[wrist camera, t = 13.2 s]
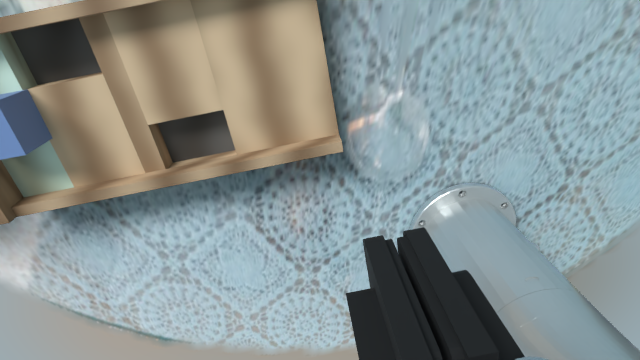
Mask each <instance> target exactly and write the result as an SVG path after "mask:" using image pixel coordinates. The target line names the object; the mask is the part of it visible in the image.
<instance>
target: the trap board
mask: <svg viewBox="0 0 640 360" xmlns="http://www.w3.org/2000/svg"><path fill="white" fill-rule="evenodd" d="M26 89H28V91H29V93H30V95H31V97H32V99H33V101H34V103H35V105H36V107H37V108H38V110H39V112H40V114H41V116H42V118H43V120H44V122H45V124H46V126H47V128H48V130H49V132H50V134H51V136H52V139H51V140H49V141H48V142H46V143H44V144H43V145H41V146H40V147H38V148H36V149H35V150H33V151H32V152H30V153H28V154H27V155H23V156H18V157H13V158H7V159H2V160H0V225H1V224H6V223H10V222H11V221H12V220H13V219H15V218H16V217H19V216H24V215H29V214H34V213H39V212H44V211H49V210H54V209H59V208H64V207H69V206H74V205H79V204H84V203H89V202H94V201H99V200H104V199H109V198H114V197H119V196H124V195H129V194H134V193H139V192H144V191H149V190H154V189H159V188H164V187H169V186H174V185H179V184H184V183H189V182H194V181H199V180H204V179H209V178H214V177H219V176H224V175H229V174H234V173H239V172H244V171H249V170H254V169H259V168H264V167H269V166H274V165H279V164H284V163H289V162H294V161H299V160H304V159H309V158H314V157H319V156H324V155H329V154H334V153H339V152H343V146H342V141H341V138H340V136H339V132H338V126H337V120H336V114H335V108H334V102H333V96H332V90H331V84H330V78H329V72H328V66H327V60H326V54H325V48H324V42H323V36H322V30H321V25H320V19H319V13H318V7H317V1H316V0H83V1H78V2H74V3H69V4H64V5H59V6H54V7H49V8H44V9H39V10H34V11H29V12H25V13H20V14H15V15H10V16H5V17H0V94H5V93H10V92H16V91H21V90H26Z"/></svg>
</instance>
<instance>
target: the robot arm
mask: <svg viewBox="0 0 640 360" xmlns="http://www.w3.org/2000/svg"><path fill="white" fill-rule="evenodd" d="M363 245H364V251H365V257H366V264H367V270H368V276H369V282H370V288H371V289H366V290H361V291H356V292H351V293H346V296H347V301H348V306H349V311H350V316H351V321H352V326H353V331H354V336H355V341H356V346H357V351H358V356H359V360H640V350H639V349H638V348H636V347H635V346H634V345H633V344H632V343H631V342H630V341H629V340H628V339H626V337H624V336H623V335H622V334H621V333H620V332H619V331H618V330H617V329H616V328H615V327H614V326H613V325H612V324H611V323H610V322H609V321H608V320H607V319H606V318H605V317H604V316H603V315H602V314H601V313H600V312H599V311H598V310H597V309H596V308H595V307H594V306H593V305H592V304H591V303H590V302H589V301H588V300H587V299H586V298H585V297H584V296H583V295H582V294H581V293H580V292H579V291H578V290H577V289H576V288H575V287H574V286H573V285H572V284H571V283H570V282H569V281H568V280H567V279H566V277H565V276H564V275H563V274H562V273H561V272H560V271H559V270H558V269H557V268H556V267H555V266H554V265H553V264H552V263H551V262H550V261H549V260H548V259H547V258H546V257H545V256H544V255H543V254H542V253H541V252H540V247H539V245H538V244H535V243H532V242H530V241H529V240H528V239H527V238H526V237H525V236H524V235H523V234H522V233H521V232H520V231H519V230H518V229H517V228H516V214H515V210H514V208H513V206H512V203H511V202H510V201H509V200H508V199H507V197H506V196H505V195H503V194H502V193H501V192H500V191H499V190H497V189H495V188H493V187H492V186H488V185H485V184H481V183H463V184H458V185H454V186H451V187H448V188H446V189H444V190H441V191H440V192H438V193H437V194H435V195H433V196H432V197H431V198H430V199H428V200H427V201H426V202H425V203H424V204H423V205H422V206H421V208H420V209H419V210H418V211H417V213H416V215H415V216H414V218H413V220H412V223H411V226H410V230H407V231H404V232H403V237H399V238H397V245H398V252H397V250H396V247H395V245H394V243H393V241H392V239H389V240H385V239H384V237H383V235H382V236H377V237H371V238H366V239H363Z"/></svg>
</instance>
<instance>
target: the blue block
mask: <svg viewBox="0 0 640 360" xmlns="http://www.w3.org/2000/svg"><path fill="white" fill-rule="evenodd" d="M51 139H52V136H51V134H50V132H49V130H48V128H47V126H46V124H45V122H44V120H43V118H42V116H41V114H40V112H39V110H38V108H37V107H36V105H35V103H34V101H33V99H32V97H31V95H30V93H29V91H28V89H26V90H21V91H16V92H10V93H5V94H0V160H2V159H7V158H13V157H18V156H23V155H27V154H28V153H30V152H32V151H33V150H35V149H36V148H38V147H40V146H41V145H43V144H44V143H46V142H48V141H49V140H51Z"/></svg>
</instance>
